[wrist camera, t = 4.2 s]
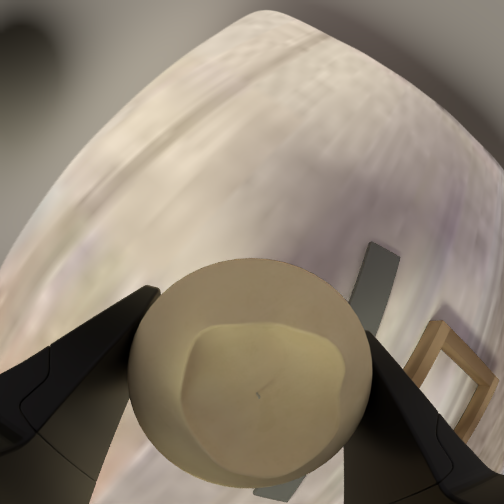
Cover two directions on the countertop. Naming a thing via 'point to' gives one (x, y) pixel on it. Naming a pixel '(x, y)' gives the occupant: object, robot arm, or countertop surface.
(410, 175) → the countertop surface
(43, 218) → the countertop surface
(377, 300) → the strip
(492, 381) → the keeper frame
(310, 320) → the candle
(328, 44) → the countertop surface
